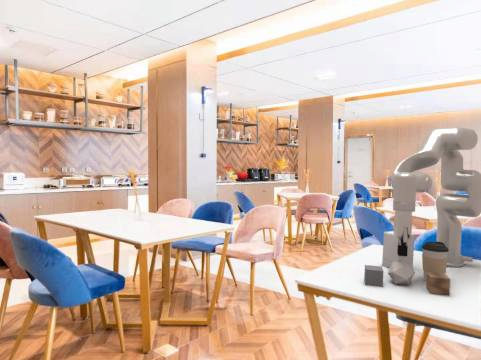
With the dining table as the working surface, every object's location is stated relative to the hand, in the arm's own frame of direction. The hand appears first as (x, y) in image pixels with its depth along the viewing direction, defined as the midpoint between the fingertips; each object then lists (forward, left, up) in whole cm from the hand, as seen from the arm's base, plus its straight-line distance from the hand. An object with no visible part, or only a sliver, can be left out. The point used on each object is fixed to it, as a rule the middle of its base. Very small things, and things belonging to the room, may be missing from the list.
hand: (402, 255), depth 134 cm
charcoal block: (+10, +4, -11) cm, 15 cm away
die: (0, 0, -11) cm, 11 cm away
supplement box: (-2, -22, -11) cm, 24 cm away
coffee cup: (-12, -6, -11) cm, 17 cm away
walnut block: (-11, +6, -11) cm, 16 cm away
